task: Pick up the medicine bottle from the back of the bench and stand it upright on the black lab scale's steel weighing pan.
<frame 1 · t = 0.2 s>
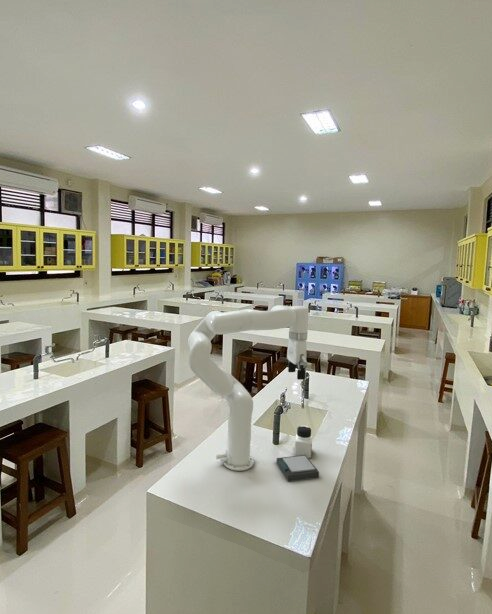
hand: (296, 375, 158), 37 cm above the countertop, tool pointing down, fingers open, 9 cm apart
lab scale: (296, 470, 153), on the countertop
medicine bottle: (302, 453, 167), on the countertop
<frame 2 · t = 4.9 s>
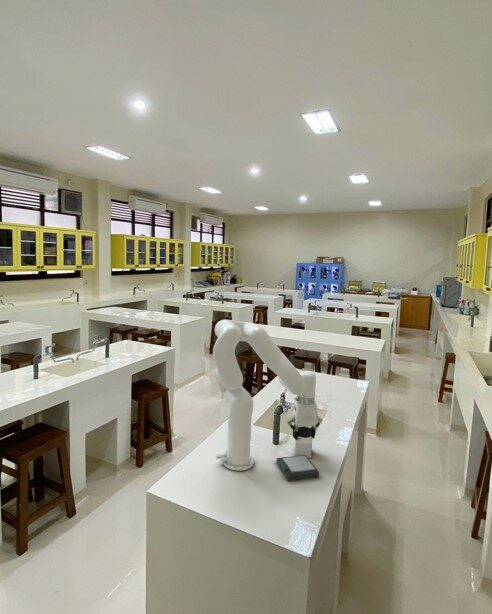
hand: (303, 437, 166), 7 cm above the countertop, tool pointing down, fingers closed on medicine bottle, 7 cm apart
medicine bottle: (302, 453, 167), on the countertop, touching gripper
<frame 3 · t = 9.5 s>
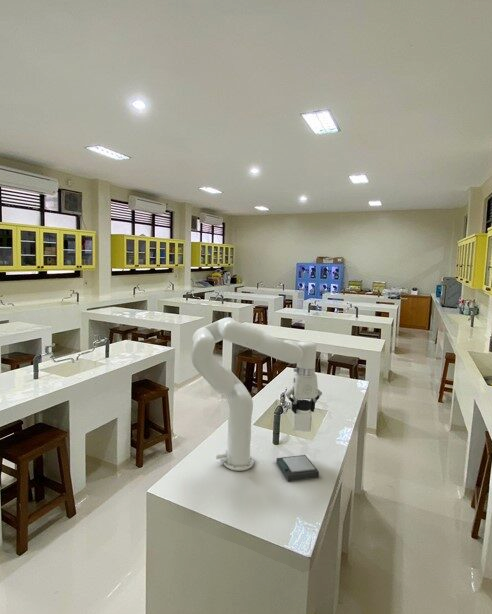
hand: (302, 411, 159), 21 cm above the countertop, tool pointing down, fingers closed on medicine bottle, 7 cm apart
medicine bottle: (301, 428, 160), point 14 cm above the countertop, touching gripper
when the fingers open (10 cm above the countertop, at t = 14.4 s): medicine bottle stays where it is, resting on lab scale.
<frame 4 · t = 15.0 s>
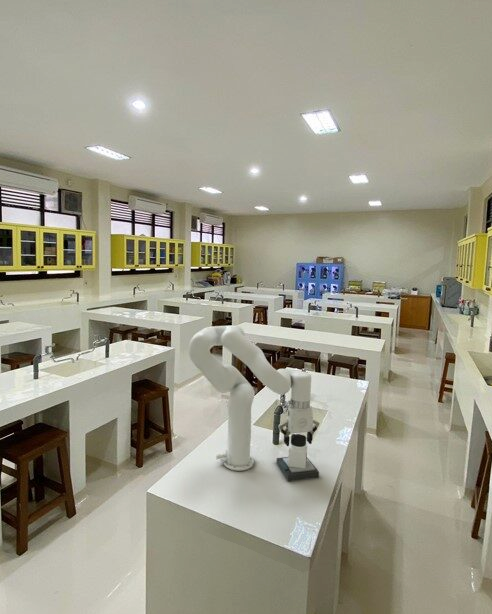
hand: (297, 443, 152), 12 cm above the countertop, tool pointing down, fingers open, 9 cm apart
medicine bottle: (297, 463, 153), point 3 cm above the countertop, touching lab scale
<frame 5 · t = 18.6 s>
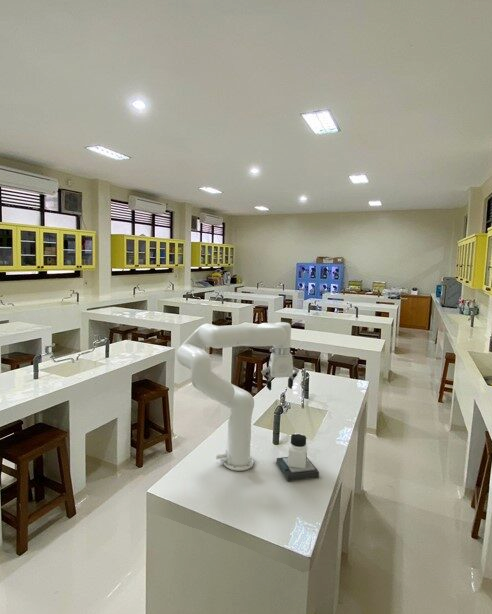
hand: (279, 388, 166), 28 cm above the countertop, tool pointing down, fingers open, 9 cm apart
nothing on the countertop moved.
at the end: medicine bottle inside the target area on the lab scale (0.2 cm from its centre), point 2.8 cm above the lab scale's base; medicine bottle tilted 0°; the gripper is holding nothing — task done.
